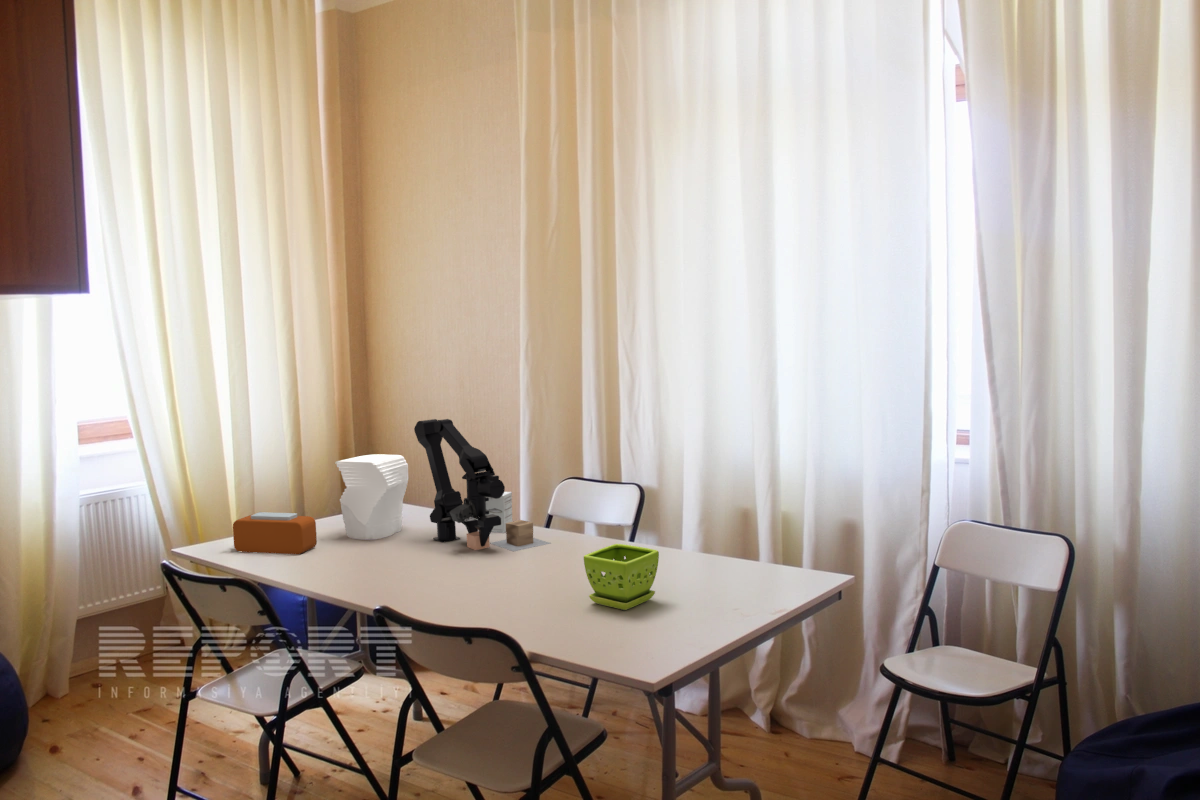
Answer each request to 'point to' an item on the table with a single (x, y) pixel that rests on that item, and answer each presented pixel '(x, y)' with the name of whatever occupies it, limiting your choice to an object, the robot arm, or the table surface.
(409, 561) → the table surface
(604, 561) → the flower pot
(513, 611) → the table surface
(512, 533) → the tower top
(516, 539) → the block
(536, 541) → the felt mat
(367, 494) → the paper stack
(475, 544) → the terracotta block
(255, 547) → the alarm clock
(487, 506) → the supplement box
